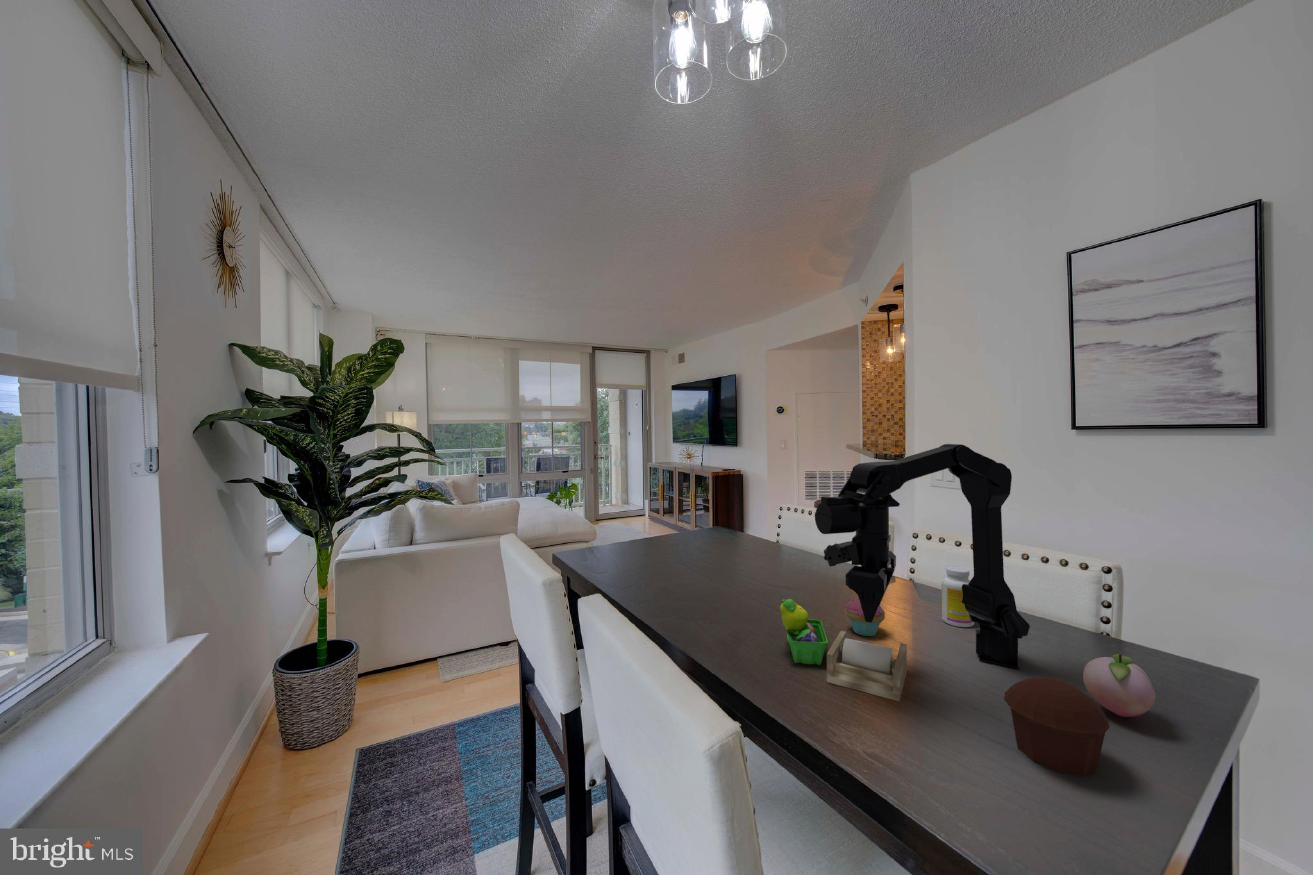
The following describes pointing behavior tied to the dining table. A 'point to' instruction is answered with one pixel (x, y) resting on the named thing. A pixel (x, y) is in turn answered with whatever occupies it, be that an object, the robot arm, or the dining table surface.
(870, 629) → the cupcake
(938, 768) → the dining table surface
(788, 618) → the fruit basket
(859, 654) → the paper roll
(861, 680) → the roll cradle
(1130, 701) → the decorative fruit
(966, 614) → the supplement bottle
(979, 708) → the dining table surface
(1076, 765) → the muffin
